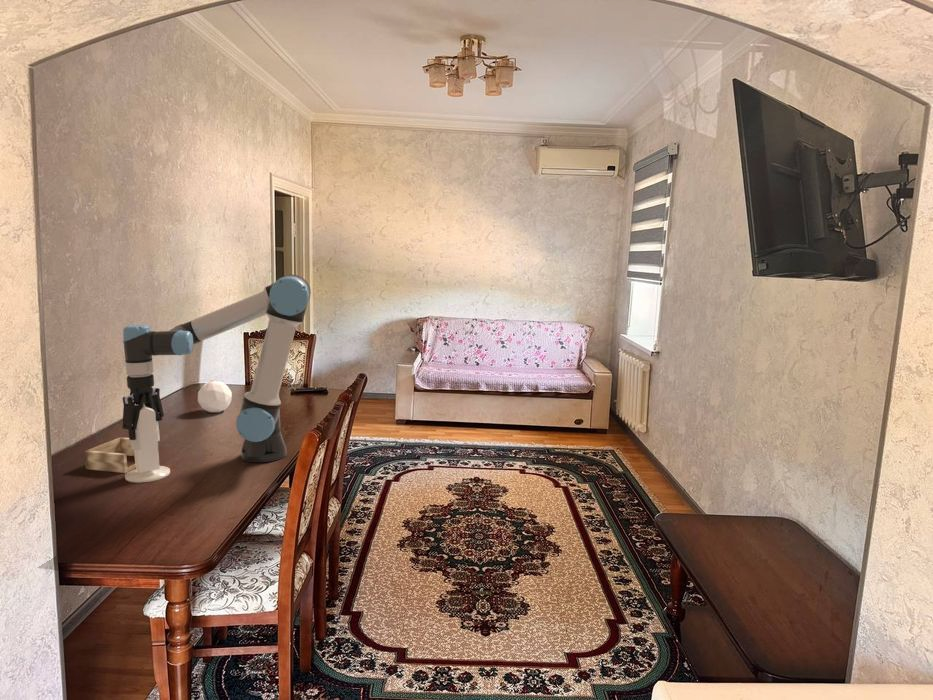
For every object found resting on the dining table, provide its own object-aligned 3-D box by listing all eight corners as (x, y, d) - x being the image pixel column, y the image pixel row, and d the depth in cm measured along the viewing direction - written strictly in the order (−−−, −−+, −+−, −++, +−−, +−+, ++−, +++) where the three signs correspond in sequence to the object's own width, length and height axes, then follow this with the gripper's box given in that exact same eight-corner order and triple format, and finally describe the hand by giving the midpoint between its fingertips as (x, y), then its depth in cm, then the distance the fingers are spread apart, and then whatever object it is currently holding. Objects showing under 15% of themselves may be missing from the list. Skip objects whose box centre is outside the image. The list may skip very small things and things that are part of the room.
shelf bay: (158, 457, 226) (157, 440, 225) (125, 472, 210) (123, 455, 209) (121, 453, 229) (120, 437, 228) (85, 469, 214) (83, 451, 213)
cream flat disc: (179, 469, 213) (178, 467, 213) (151, 484, 201) (151, 481, 201) (144, 466, 216) (144, 464, 216) (115, 480, 204) (115, 478, 204)
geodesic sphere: (221, 404, 273) (227, 373, 280) (187, 404, 274) (194, 373, 280) (233, 418, 287) (239, 388, 293) (201, 417, 287) (207, 388, 293)
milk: (139, 473, 204) (132, 404, 200) (135, 467, 209) (129, 400, 205) (160, 469, 208) (154, 401, 204) (155, 463, 212) (150, 397, 209)
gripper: (152, 367, 214) (158, 434, 218) (103, 381, 194) (110, 454, 197) (172, 368, 212) (177, 436, 216) (125, 382, 192) (132, 456, 196)
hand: (145, 444), depth 207 cm, fingers closed on milk, 8 cm apart
